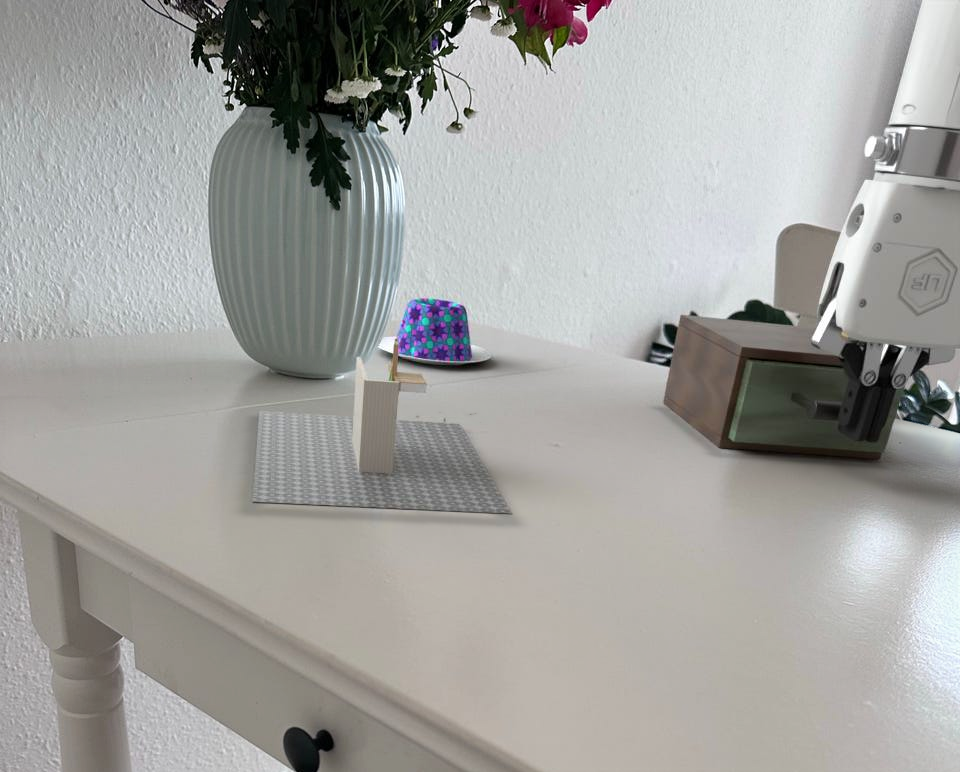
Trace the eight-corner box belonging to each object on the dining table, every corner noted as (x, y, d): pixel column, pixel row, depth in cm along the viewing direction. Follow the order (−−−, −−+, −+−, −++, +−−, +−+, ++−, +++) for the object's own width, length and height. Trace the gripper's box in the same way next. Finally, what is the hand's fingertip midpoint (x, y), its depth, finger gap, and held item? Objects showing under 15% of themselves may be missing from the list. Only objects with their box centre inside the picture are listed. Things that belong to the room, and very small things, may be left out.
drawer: (915, 470, 76) (941, 390, 73) (756, 459, 73) (777, 376, 70) (811, 410, 92) (829, 342, 89) (678, 399, 89) (693, 329, 86)
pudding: (436, 341, 106) (441, 291, 104) (514, 365, 99) (521, 313, 97) (350, 346, 98) (352, 292, 96) (428, 373, 91) (433, 316, 89)
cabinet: (880, 459, 81) (910, 362, 78) (718, 447, 79) (741, 346, 75) (804, 414, 94) (827, 328, 90) (662, 402, 91) (680, 314, 88)
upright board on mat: (407, 444, 69) (416, 330, 66) (419, 474, 63) (430, 351, 60) (352, 441, 69) (358, 325, 65) (358, 471, 63) (366, 345, 59)
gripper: (864, 151, 59) (786, 444, 67) (1075, 181, 62) (975, 458, 70) (808, 149, 65) (743, 416, 74) (1001, 176, 68) (918, 430, 77)
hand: (856, 436), depth 72 cm, fingers closed
